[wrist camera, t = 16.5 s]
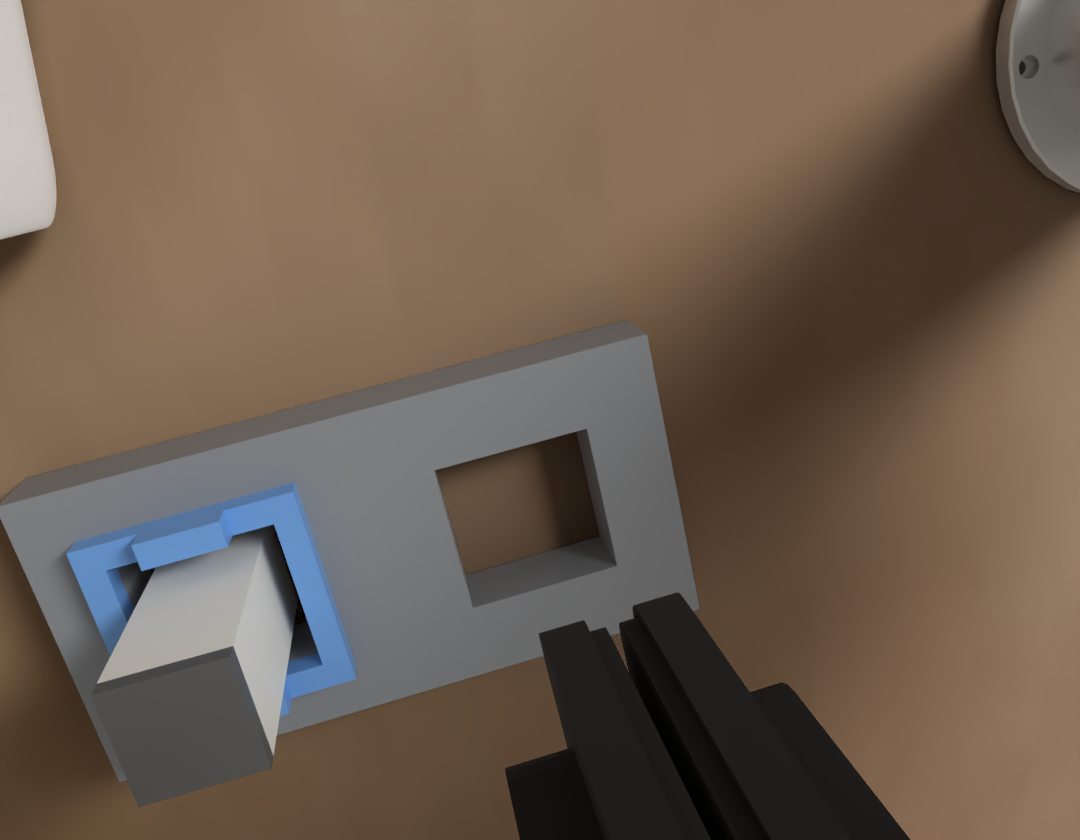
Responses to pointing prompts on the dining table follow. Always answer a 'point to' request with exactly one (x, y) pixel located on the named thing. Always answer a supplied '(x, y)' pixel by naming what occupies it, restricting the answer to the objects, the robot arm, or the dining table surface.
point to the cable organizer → (22, 134)
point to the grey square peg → (201, 670)
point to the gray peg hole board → (375, 523)
